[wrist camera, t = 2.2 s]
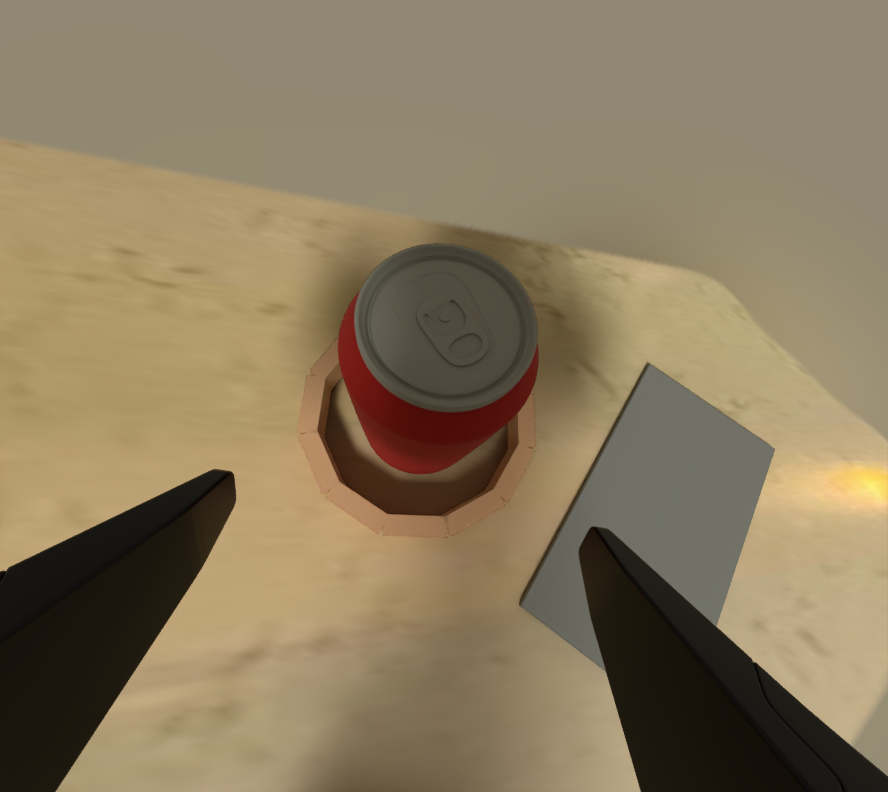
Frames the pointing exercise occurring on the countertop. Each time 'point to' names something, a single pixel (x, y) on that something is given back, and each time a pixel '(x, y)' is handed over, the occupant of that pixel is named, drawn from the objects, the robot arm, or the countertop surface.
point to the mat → (658, 505)
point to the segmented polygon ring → (369, 514)
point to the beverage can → (437, 354)
